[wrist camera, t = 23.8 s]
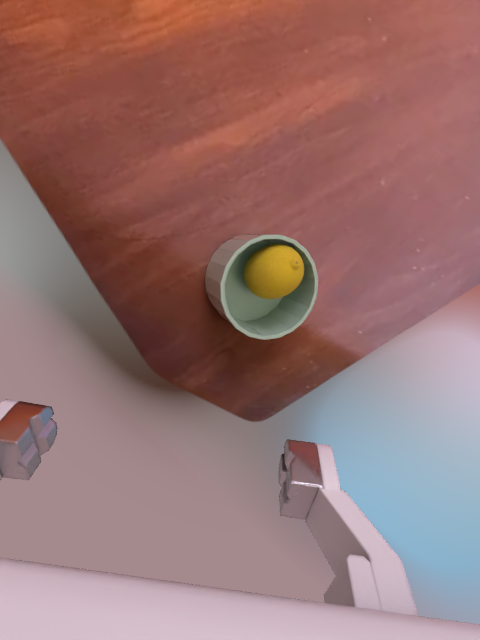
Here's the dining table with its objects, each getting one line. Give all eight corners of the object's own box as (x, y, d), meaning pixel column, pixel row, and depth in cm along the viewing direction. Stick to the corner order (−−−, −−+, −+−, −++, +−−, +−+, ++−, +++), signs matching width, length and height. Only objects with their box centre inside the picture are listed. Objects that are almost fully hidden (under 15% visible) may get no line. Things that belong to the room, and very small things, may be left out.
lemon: (263, 252, 39) (309, 229, 32) (277, 296, 39) (325, 283, 32) (224, 262, 36) (265, 240, 29) (240, 309, 36) (284, 299, 29)
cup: (222, 335, 39) (240, 355, 33) (191, 252, 36) (205, 256, 29) (296, 303, 41) (327, 316, 35) (274, 222, 38) (304, 219, 31)
